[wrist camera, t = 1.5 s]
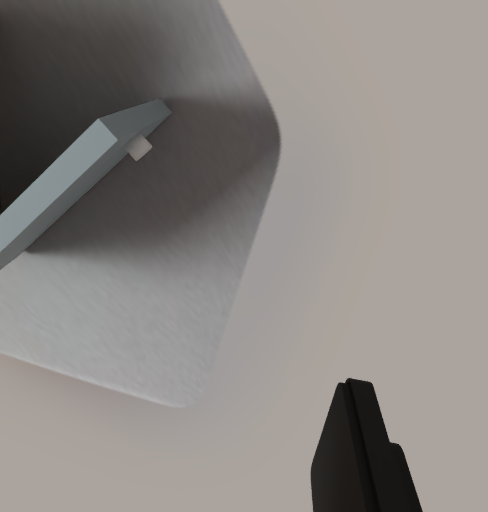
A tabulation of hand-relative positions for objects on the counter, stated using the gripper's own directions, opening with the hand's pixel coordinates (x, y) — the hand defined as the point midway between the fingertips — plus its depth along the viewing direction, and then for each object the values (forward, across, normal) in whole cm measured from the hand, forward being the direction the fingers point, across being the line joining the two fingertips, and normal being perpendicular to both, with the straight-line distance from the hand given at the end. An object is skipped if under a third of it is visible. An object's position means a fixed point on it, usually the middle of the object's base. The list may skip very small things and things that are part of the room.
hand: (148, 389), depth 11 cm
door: (+23, +10, +3) cm, 25 cm away
